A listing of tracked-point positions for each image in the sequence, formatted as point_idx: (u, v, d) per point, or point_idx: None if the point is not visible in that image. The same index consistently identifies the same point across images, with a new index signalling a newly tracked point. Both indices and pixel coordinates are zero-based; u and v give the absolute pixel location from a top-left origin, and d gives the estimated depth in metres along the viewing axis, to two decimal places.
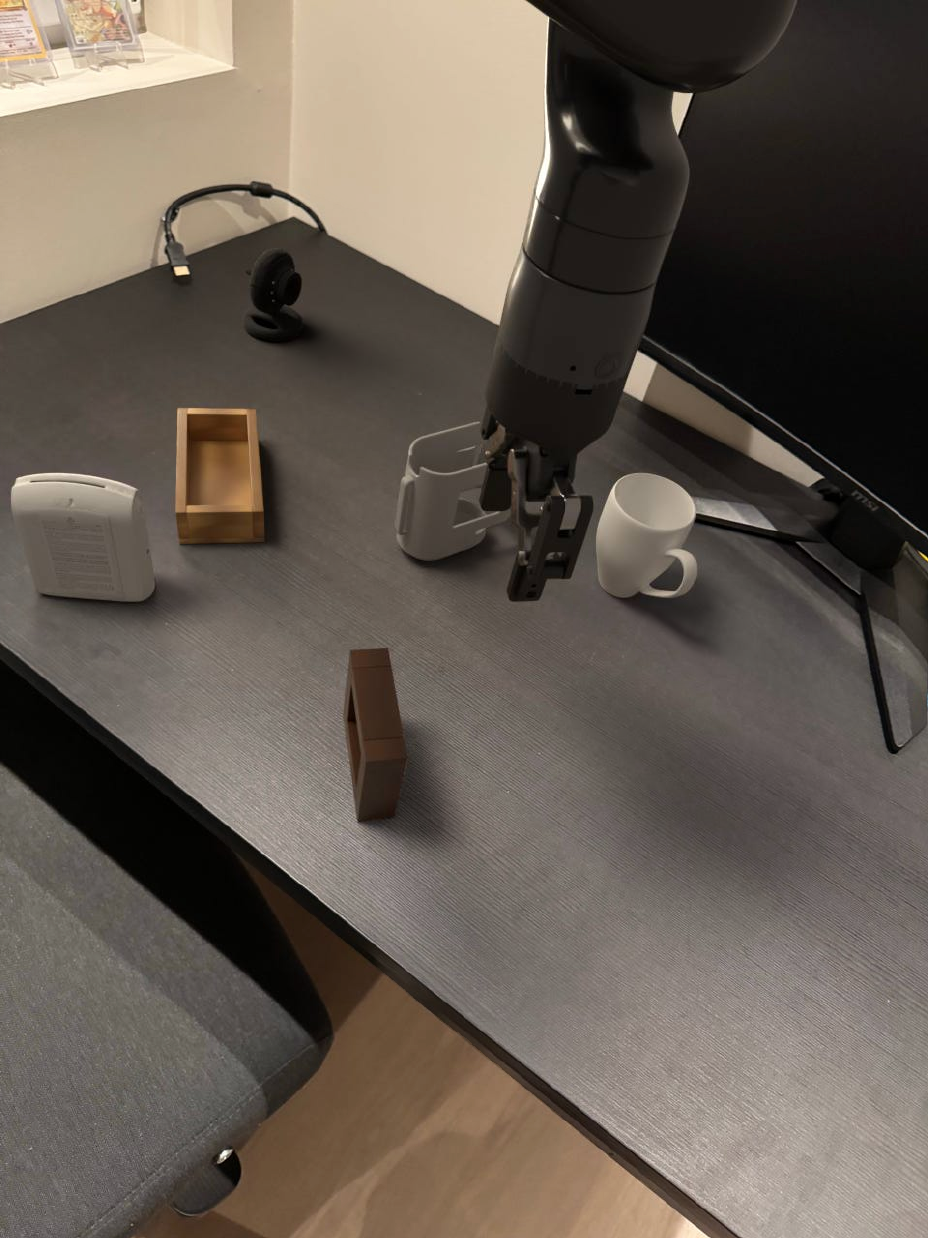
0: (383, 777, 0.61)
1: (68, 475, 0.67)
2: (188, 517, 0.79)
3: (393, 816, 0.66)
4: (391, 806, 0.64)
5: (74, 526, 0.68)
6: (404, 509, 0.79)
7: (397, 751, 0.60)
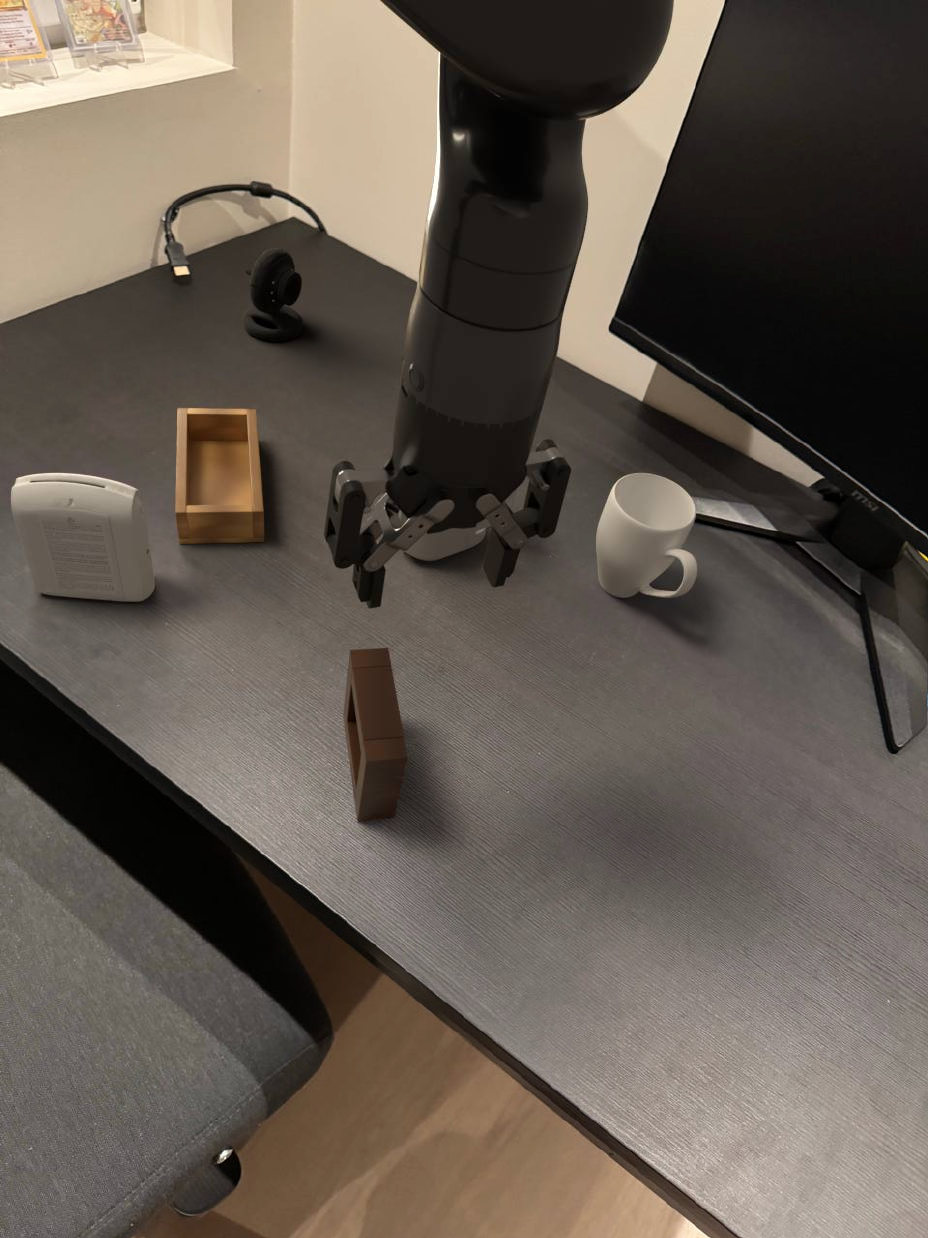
0: (383, 777, 0.61)
1: (68, 475, 0.67)
2: (188, 517, 0.79)
3: (393, 816, 0.66)
4: (391, 806, 0.64)
5: (74, 526, 0.68)
6: None
7: (397, 751, 0.60)
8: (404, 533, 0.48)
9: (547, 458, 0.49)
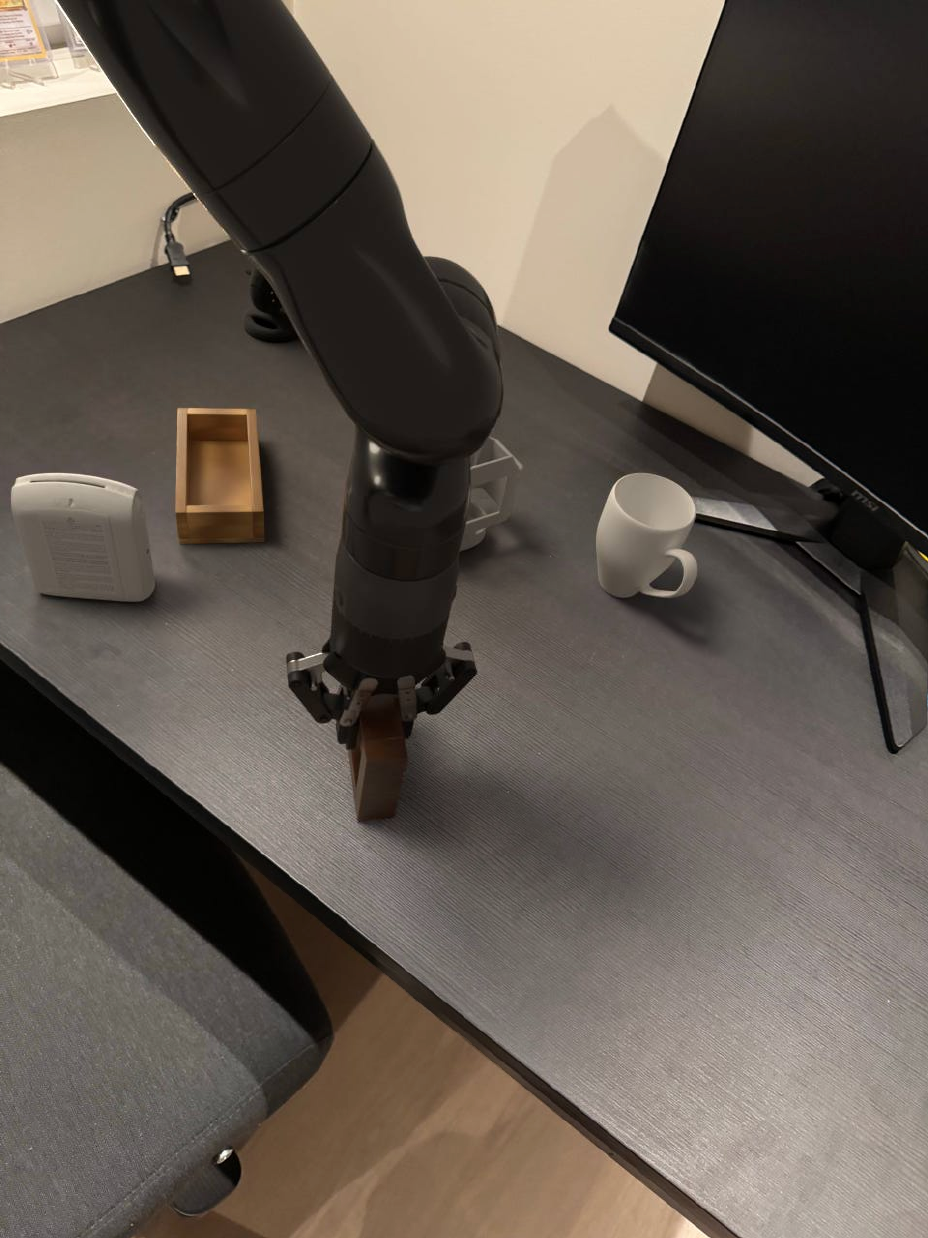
0: (383, 777, 0.61)
1: (68, 475, 0.67)
2: (188, 517, 0.79)
3: (393, 816, 0.66)
4: (391, 806, 0.64)
5: (74, 526, 0.68)
6: None
7: (397, 751, 0.60)
8: (351, 703, 0.59)
9: (462, 657, 0.60)
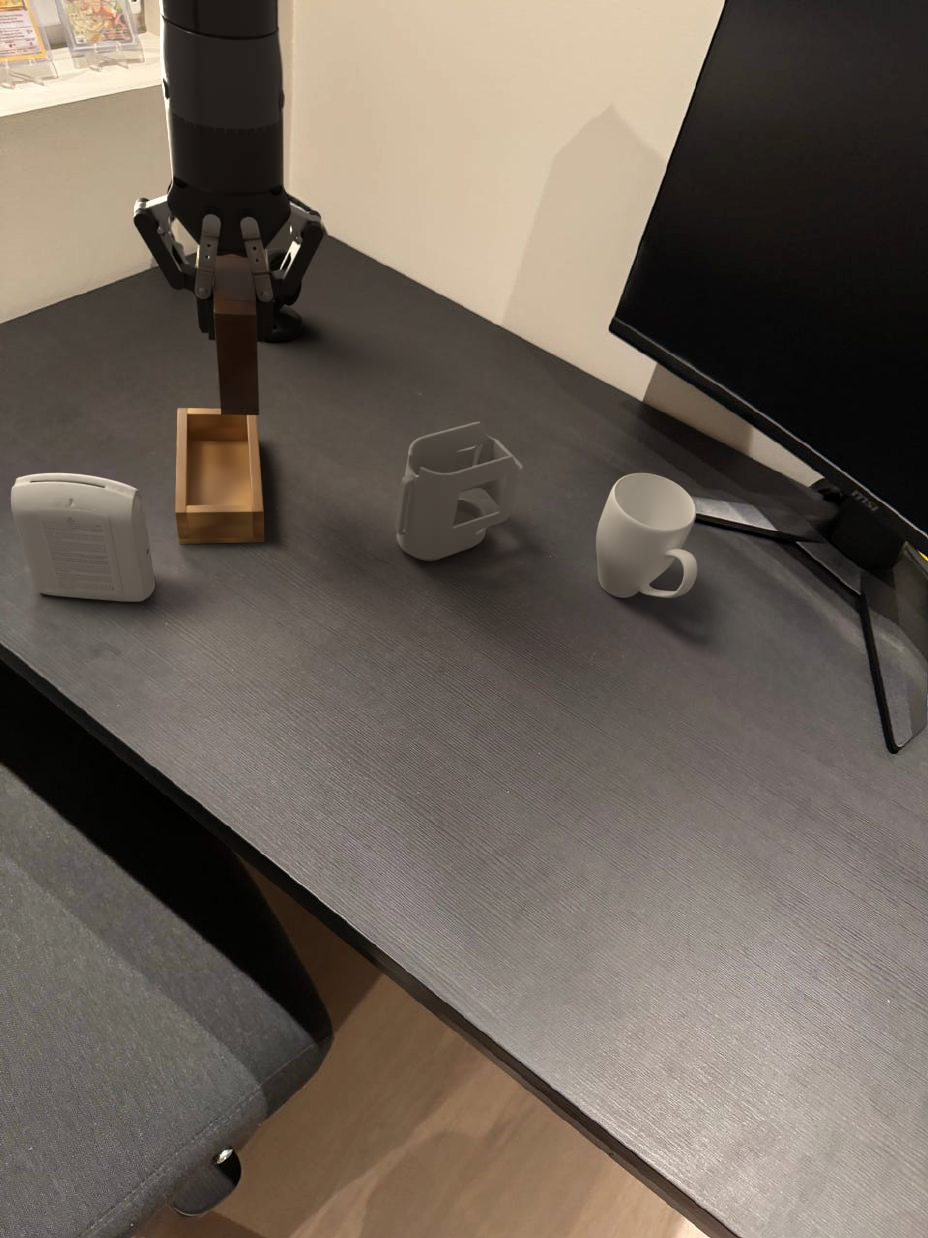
0: (236, 342, 0.63)
1: (68, 475, 0.67)
2: (188, 517, 0.79)
3: (256, 412, 0.68)
4: (252, 393, 0.67)
5: (74, 526, 0.68)
6: (404, 509, 0.79)
7: (246, 309, 0.62)
8: (199, 255, 0.61)
9: (309, 218, 0.62)
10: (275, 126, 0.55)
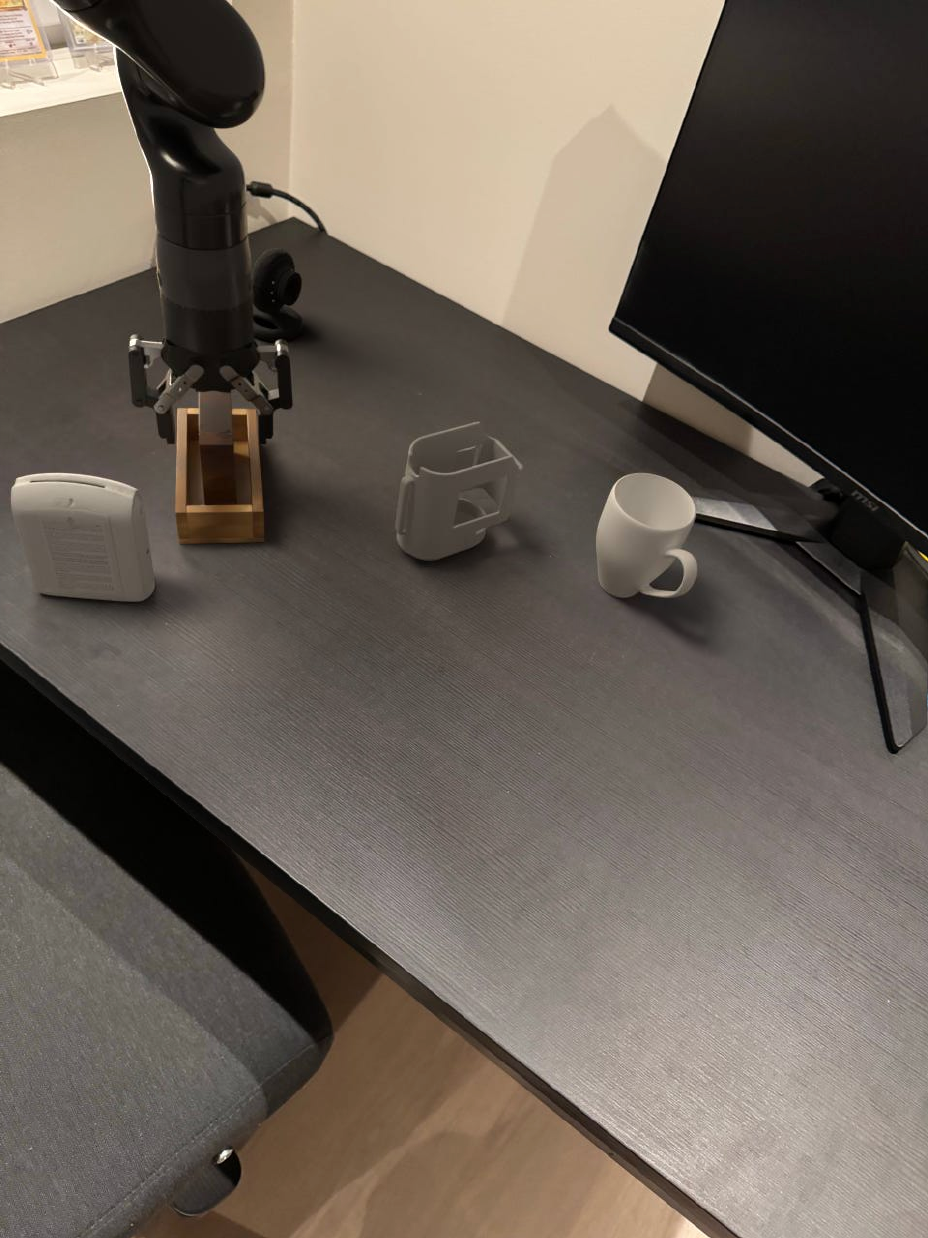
0: (217, 465, 0.79)
1: (68, 475, 0.67)
2: (188, 517, 0.79)
3: None
4: (230, 501, 0.82)
5: (74, 526, 0.68)
6: (404, 509, 0.79)
7: (225, 440, 0.77)
8: (174, 386, 0.75)
9: (275, 350, 0.76)
10: (246, 303, 0.70)
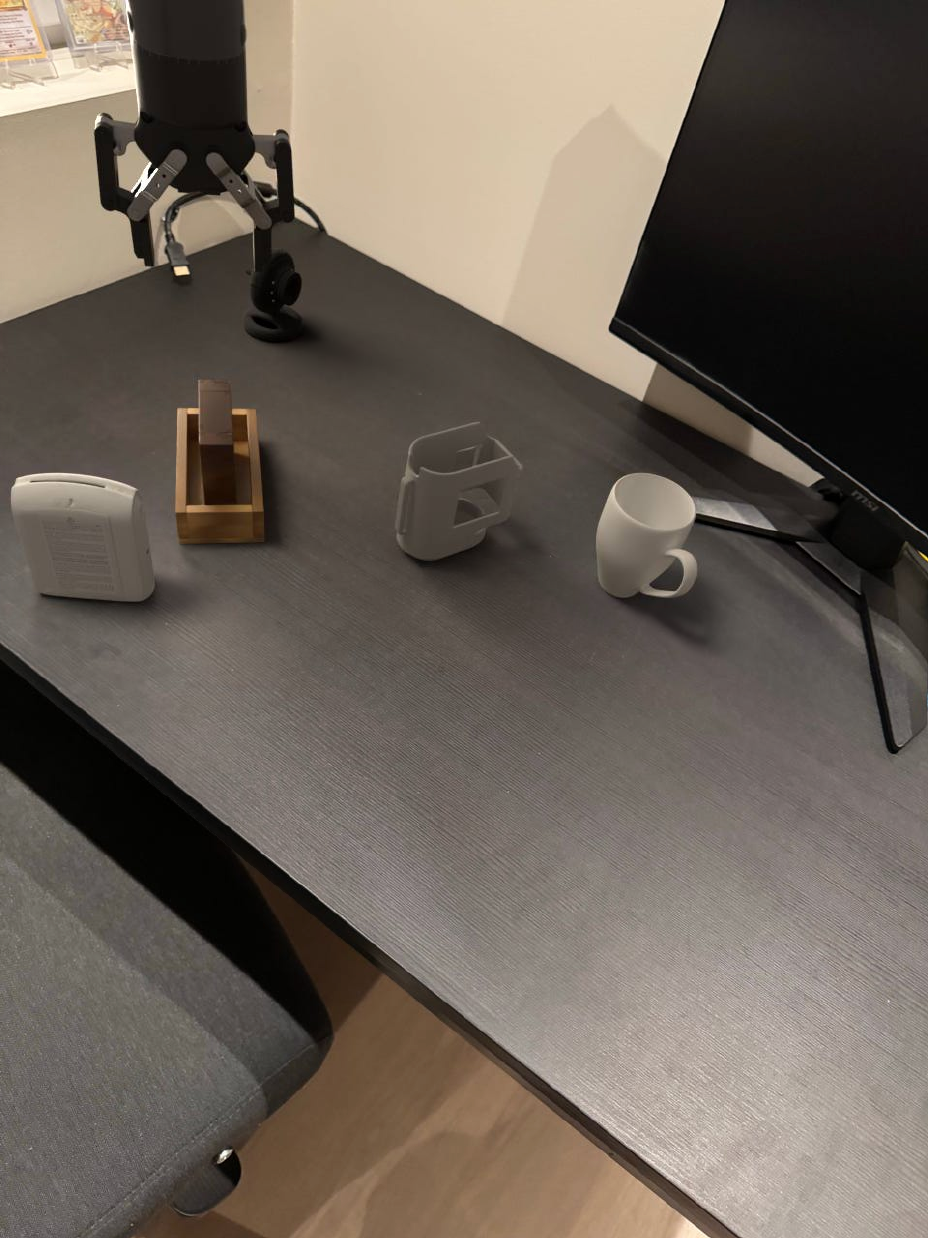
0: (217, 465, 0.79)
1: (68, 475, 0.67)
2: (188, 517, 0.79)
3: None
4: (230, 501, 0.82)
5: (74, 526, 0.68)
6: (404, 509, 0.79)
7: (225, 440, 0.77)
8: (151, 180, 0.62)
9: (274, 139, 0.63)
10: (237, 60, 0.57)
